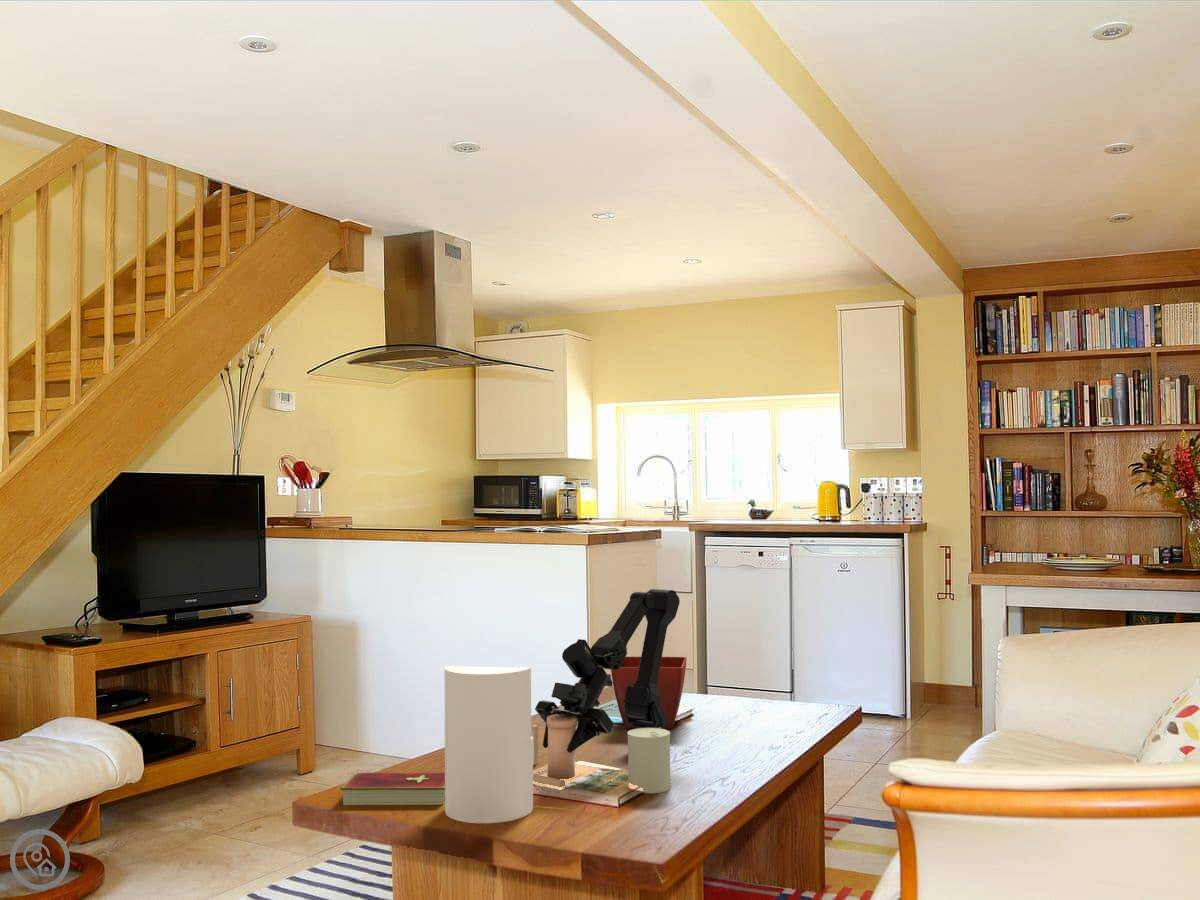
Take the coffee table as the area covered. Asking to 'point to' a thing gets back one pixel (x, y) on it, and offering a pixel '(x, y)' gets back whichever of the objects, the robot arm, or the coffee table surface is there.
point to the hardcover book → (395, 789)
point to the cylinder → (488, 744)
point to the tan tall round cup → (561, 746)
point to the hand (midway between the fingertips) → (556, 749)
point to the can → (649, 759)
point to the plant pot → (667, 685)
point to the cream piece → (547, 779)
